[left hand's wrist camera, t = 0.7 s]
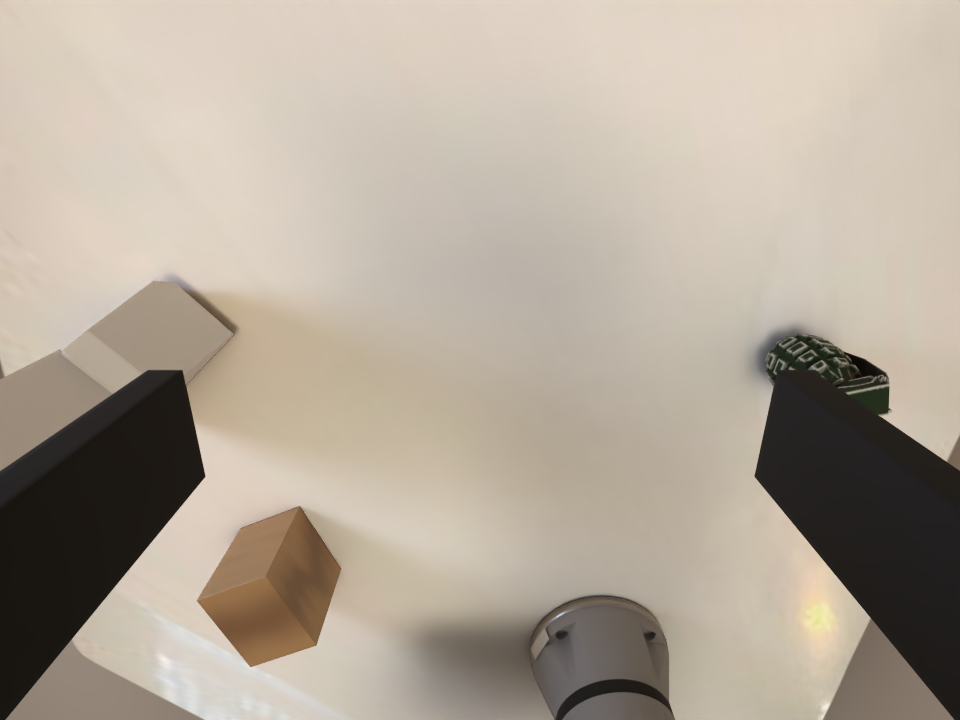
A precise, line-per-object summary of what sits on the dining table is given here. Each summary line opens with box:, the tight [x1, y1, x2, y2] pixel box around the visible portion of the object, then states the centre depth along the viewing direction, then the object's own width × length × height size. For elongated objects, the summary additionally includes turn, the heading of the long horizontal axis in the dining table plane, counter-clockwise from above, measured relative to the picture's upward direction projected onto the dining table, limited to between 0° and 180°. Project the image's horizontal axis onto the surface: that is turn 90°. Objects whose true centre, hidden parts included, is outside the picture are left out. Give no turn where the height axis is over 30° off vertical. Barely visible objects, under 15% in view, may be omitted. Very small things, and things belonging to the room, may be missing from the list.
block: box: [197, 506, 341, 667], centre depth 54 cm, size 9×7×10 cm
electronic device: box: [0, 281, 233, 471], centre depth 35 cm, size 12×8×30 cm, turn 133°
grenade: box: [765, 334, 892, 416], centre depth 45 cm, size 7×6×10 cm
